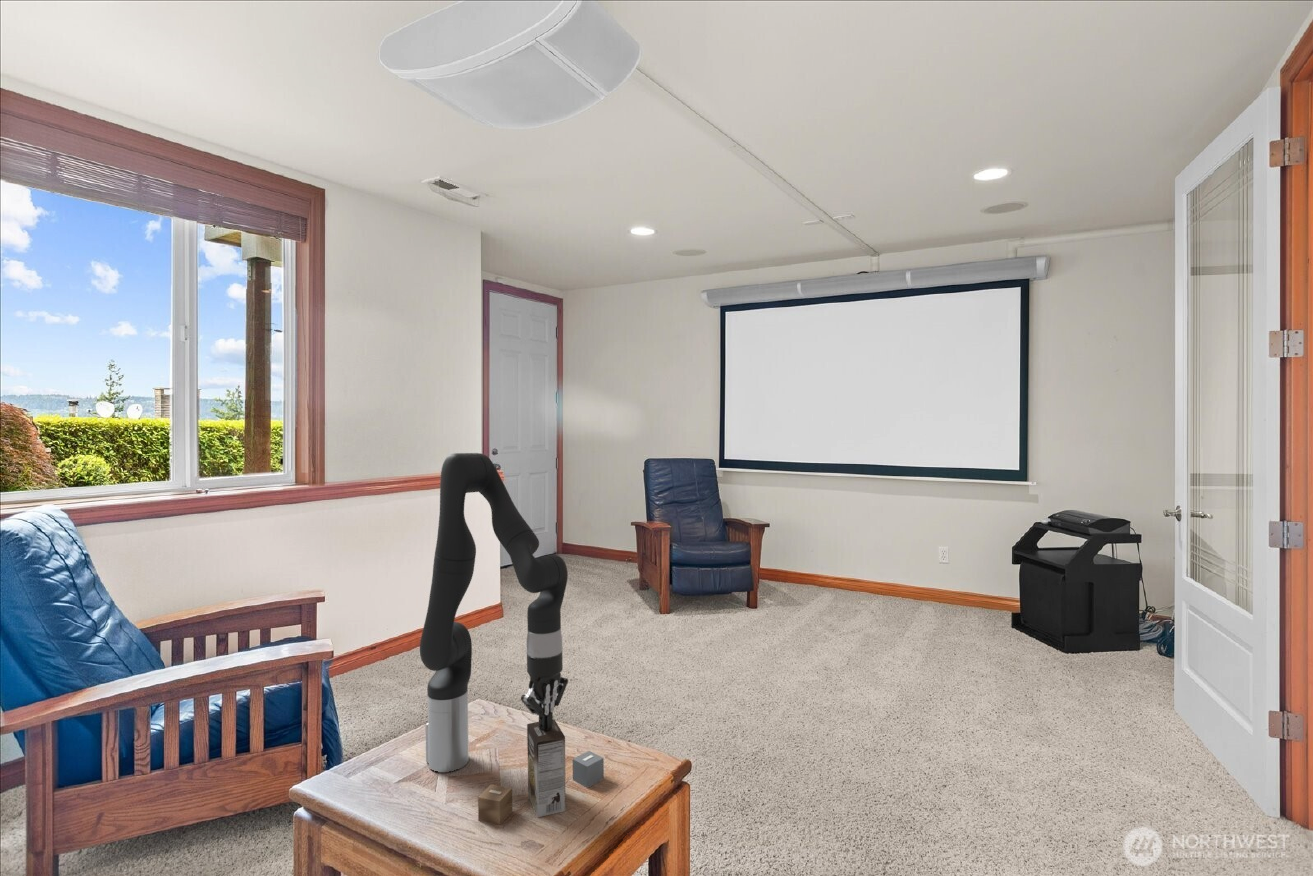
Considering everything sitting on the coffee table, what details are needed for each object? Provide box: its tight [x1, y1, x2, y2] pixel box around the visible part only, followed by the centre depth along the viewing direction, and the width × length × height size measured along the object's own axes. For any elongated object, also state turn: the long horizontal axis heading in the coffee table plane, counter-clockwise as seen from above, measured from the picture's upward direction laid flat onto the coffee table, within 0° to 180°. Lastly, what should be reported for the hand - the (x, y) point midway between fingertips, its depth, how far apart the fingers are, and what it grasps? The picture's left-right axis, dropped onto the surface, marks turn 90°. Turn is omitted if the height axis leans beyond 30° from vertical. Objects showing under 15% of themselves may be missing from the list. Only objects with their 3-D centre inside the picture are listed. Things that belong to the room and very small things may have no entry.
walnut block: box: [477, 784, 513, 826], centre depth 137 cm, size 5×5×5 cm
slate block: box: [572, 750, 605, 789], centre depth 150 cm, size 5×5×5 cm
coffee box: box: [526, 718, 566, 818], centre depth 141 cm, size 9×6×16 cm
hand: (545, 729), depth 141 cm, fingers closed
